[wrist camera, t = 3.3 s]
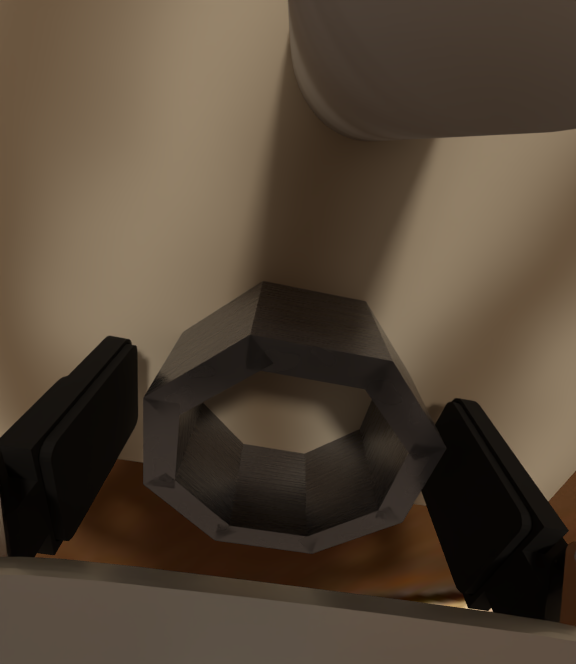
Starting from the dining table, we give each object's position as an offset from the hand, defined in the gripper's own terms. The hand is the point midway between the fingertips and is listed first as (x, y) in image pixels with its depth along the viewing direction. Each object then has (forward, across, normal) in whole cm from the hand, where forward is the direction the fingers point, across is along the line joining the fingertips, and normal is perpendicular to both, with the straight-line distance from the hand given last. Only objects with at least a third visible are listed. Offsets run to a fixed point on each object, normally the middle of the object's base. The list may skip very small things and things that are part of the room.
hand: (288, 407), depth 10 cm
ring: (+1, 0, 0) cm, 1 cm away
